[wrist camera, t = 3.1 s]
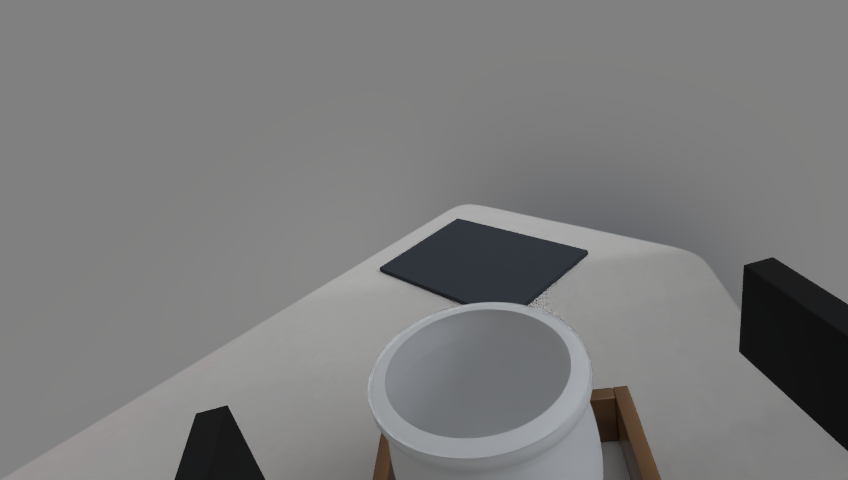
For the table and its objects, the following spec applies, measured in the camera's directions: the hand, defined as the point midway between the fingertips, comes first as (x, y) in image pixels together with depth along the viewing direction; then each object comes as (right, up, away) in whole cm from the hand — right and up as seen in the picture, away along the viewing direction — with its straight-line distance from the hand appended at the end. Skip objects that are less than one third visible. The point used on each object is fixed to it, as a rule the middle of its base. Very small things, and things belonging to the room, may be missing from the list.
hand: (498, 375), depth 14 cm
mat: (+4, +1, +49) cm, 50 cm away
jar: (+4, -16, +18) cm, 24 cm away
